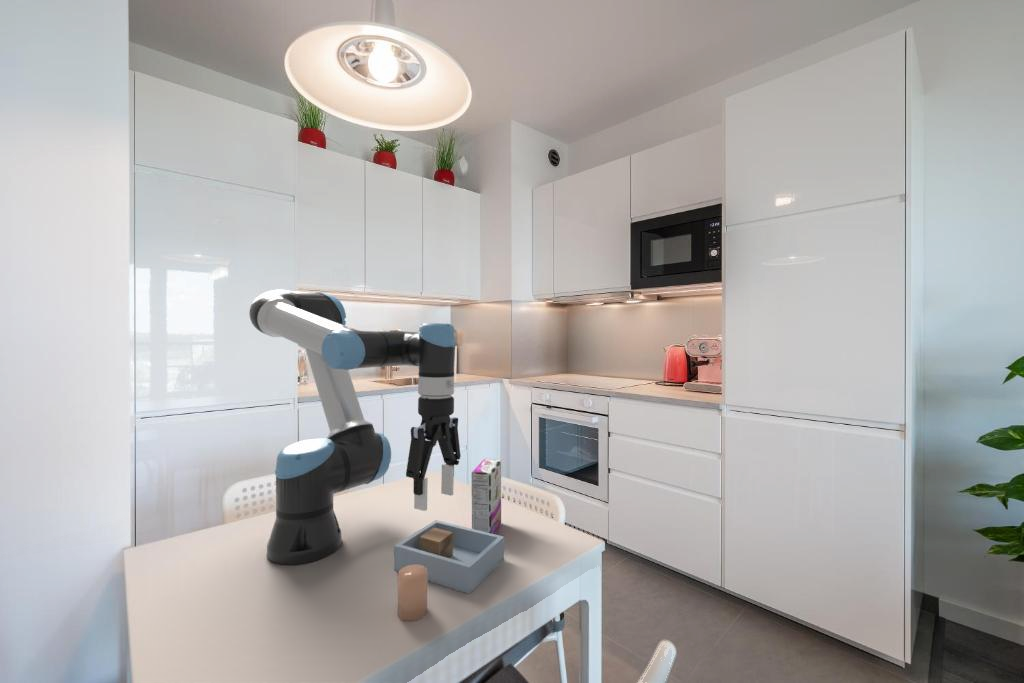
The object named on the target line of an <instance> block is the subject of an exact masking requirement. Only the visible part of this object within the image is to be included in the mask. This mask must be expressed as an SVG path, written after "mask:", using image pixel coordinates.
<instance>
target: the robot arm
mask: <svg viewBox="0 0 1024 683" xmlns="http://www.w3.org/2000/svg"><path fill="white" fill-rule="evenodd" d="M346 314H347V313H346V311H345V307H344V305H343V303H342V302H341V300H340V299H339V298H337V297H336V296H334V295H332V294H327V293H323V292H308V291H296V290H295V291H293V290H287V289H286V290H285V289H275V290H269V291H266V292H263V293H262V294H260V295H259V296H257V297H256V298H255V299H254V300H253V302H252V303H251V305H250V307H249V319H250V322H251V324H252V326H254V328H255V329H256V330H257V331H259V332H260V333H262V334H264V335H267V336H269V337H272V338H284V339H286V340H288V341H289V342H290V341H291V342H293V343H295V344H297V346H298V347H300V348H302V349H305V351H306V357H307V359H308V362H309V366H310V369H311V374H312V375H313V379H314V382H315V386H316V389H317V393H318V396H319V399H320V402H321V406H322V409H323V412H324V415H325V416H324V417H325V419H326V423H327V426H328V428H329V433H328V435H327V436H326V438H325V437H318V438H317V437H316V438H312V439H308V438H307V439H304V440H300V441H296V442H294V443H291V444H289V445H287V446H285V447H283V448H282V449H281V450H280V451H279V453H278V454H277V457H276V464H275V469H274V474H275V494H276V495H275V511H276V512H275V521H274V523H273V527H272V530H271V533H270V536H269V538H268V541H267V543H266V557H267V559H268V560H269V561H270V562H272V563H275V564H279V565H300V564H306V563H310V562H314V561H317V560H320V559H323V558H325V557H328V556H330V555H331V554H333V553H334V552H335V551H337V550H338V549H339V548H340V547H341V544H342V530H341V528H340V525H339V521H338V519H337V515H336V513H335V510H334V494H339V493H340V492H343V491H347V490H350V489H352V488H356V487H359V486H361V485H362V486H363V485H368V484H370V483H372V482H374V481H378V480H380V479H381V478H382V477H384V476H385V475H386V473H387V472H388V470H389V469H390V468H389V467H390V464H391V462H392V448H391V444H390V441H389V440H388V438H387V436H386V435H384V434H383V433H380V432H376V431H375V428H374V425H373V423H372V422H369V421H368V420H366V419H365V417H364V415H363V410H362V408H361V405H360V402H359V399H358V395H357V392H356V389H355V387H354V384H353V380H352V377H351V374H350V371H349V370H354V369H356V370H357V369H368V368H380V367H382V368H383V367H398V366H409V367H410V366H411V367H418V378H417V379H418V384H417V393H418V395H419V396H418V398H417V399H418V400H417V413H418V415H420V416H421V421H420V425H418V426H417V427H416V426H412V427H411V428H410V446H409V451H408V457H407V464H406V470H405V477H406V478H407V477H408V478H410V479H411V478H412V480H413V495H414V498H413V500H414V501H413V503H414V504H413V508H414V509H415V510H419V511H424V512H426V511H427V510H428V487H429V486H428V482H429V481H428V479H429V478H428V477H426V475H427V470H428V466H429V463H430V459H431V456H432V453H433V449H434V447H435V446H436V445H437V442H438V446H439V449H440V453H441V455H442V460H443V461H444V463H443V464H441V487H440V488H441V491H440V493H441V494H442V495H447V496H450V497H452V496H454V485H455V484H454V480H455V479H454V478H455V466H458V465H459V464H460V459H461V448H460V439H459V438H460V437H459V430H458V428H459V427H458V426H459V418H458V417H453V416H452V415H453V414H454V413H455V398H454V397H453V395H454V394H455V360H456V357H455V356H456V345H457V344H456V330H455V327H454V325H452V324H451V323H443V322H442V323H433V322H432V323H429V322H428V323H427V322H422V323H421V324H420V325H419V331H418V332H417V331H402V330H391V331H380V330H379V331H372V330H371V331H368V330H359V329H356V328H353V327H350V326H348V325H347V323H346V322H347V321H346V320H345V319H346V318H347V315H346Z"/></svg>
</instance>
